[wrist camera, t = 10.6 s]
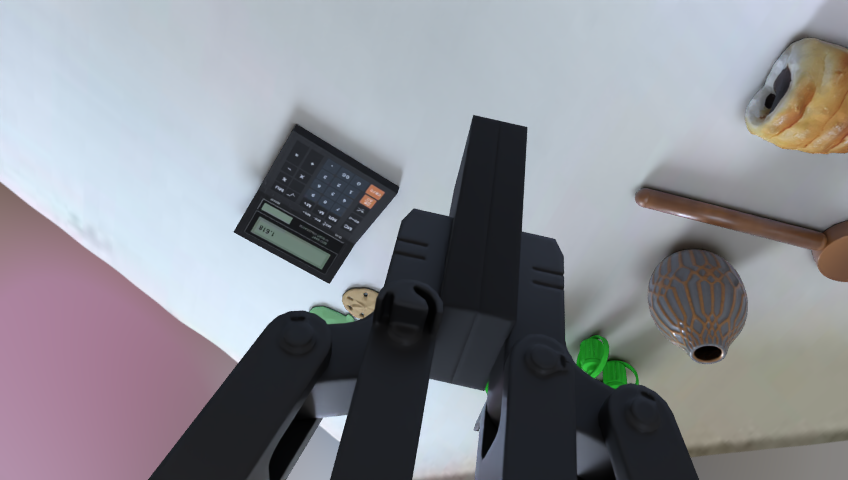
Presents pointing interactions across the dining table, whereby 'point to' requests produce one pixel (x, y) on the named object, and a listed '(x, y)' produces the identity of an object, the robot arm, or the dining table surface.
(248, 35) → the dining table surface
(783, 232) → the wooden spoon
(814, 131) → the pastry
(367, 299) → the toy pieces
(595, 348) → the chandelier
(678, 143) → the dining table surface
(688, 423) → the dining table surface
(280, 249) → the calculator
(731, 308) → the vase
